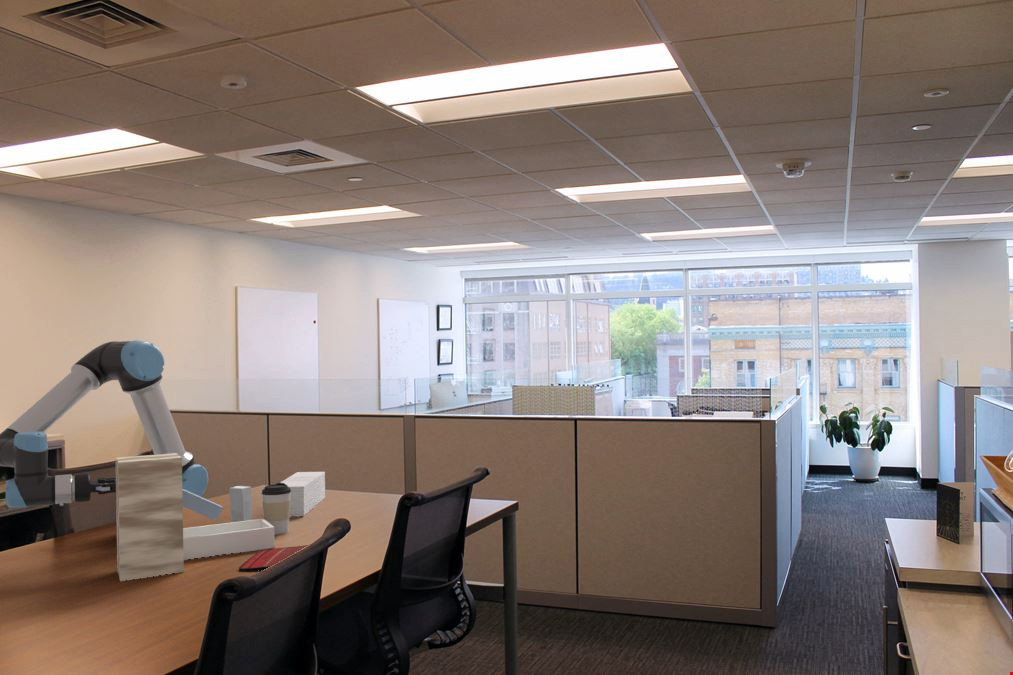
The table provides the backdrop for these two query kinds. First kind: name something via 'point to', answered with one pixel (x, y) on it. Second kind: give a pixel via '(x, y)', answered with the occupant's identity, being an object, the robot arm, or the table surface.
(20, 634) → the table surface
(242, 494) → the skincare box
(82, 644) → the table surface
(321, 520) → the table surface
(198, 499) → the block
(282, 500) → the coffee cup
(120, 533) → the beige tall box
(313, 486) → the stack of papers
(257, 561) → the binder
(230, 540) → the tray
